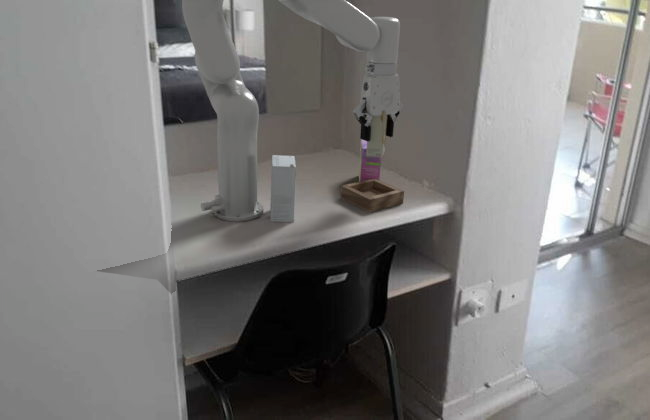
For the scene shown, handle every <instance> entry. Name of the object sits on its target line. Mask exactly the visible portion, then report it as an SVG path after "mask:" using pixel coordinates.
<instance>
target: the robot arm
mask: <svg viewBox="0 0 650 420" xmlns="http://www.w3.org/2000/svg"><path fill="white" fill-rule="evenodd" d="M277 1H279V2H280V4H283V6H285V7H287V8H288V9H289V10H291V11H292V12H294V13H295V14H296V15H298V16H299V17H302V18H303V19H304V20H307V21H309V22H312V23H313V24H317V25H319V26H321V27H322V28H324V29H326V30H328V32H331V33H332V34H333V35H334V36H335V37H336V40H337V41H338V42H339V43H340V44H341V45H342V46H344V47H346V48H349V49H352V50H354V51H357V52H360V53H361V52H362V53H364V52H367V53H366V65H365V66H364V68H363V69H364V71H365V74H364V77H363V80H362V85H361V91H360V100H359V103H358V104H357V106H356V107H355V108H354V109H353V110H352V113H353V115H354V117H355V119H356V120H357V121H358V124H359V125H360V134H359V135H360V137H359V138H360V140H361V139H362V140H365V141H370V135H371V126H369V124H370V122H371V120H372V118H373V117H378V116H381V115H382V111H383V110H386V115H387V126H386V137H389V138H393V137H394V128H395V127H394V126H395V123H396V122H397V117H398V116H399V115H400V112H401V110H402V109H403V107H404V103H402V101H401V87H400V85H401V84H400V77H399V74H398V73H397V68H398V57H399V45H400V44H399V43H400V34H401V33H400V32H401V31H400V30H401V22H400V20H399V19H398V18H396V17H393V16H374V17H369V16H368V15H367V14H365V13H364V12H362V11H361V10H360V9H359V8H358V7H356V6H354V5H353V4H352V3H350V2H348V1H347V0H277ZM223 5H224V0H182V1H181V7H182V10H181V11H182V15H183V19H184V22H185V25H186V27H187V28H186V29H187V31H188V33H189V38H190V39H191V40H190V41H191V43H192V46H193V48H194V62H195V63H194V64H195V66H196V69H197V72H198V74H199V77H200V78H201V83H202V84H203V87H204V89H205V92H206V94H207V97H208V98H209V99H208V100H209V101H210V102H209V103H210V105H211V107H212V108H213V110H214V112H215V113H216V116H217V132H216V133H217V134H216V138H217V139H216V140H217V142H216V143H217V146H216V147H217V148H216V149H217V173H218V175H217V176H218V178H217V181H218V194H216V195H214V199H212V200H211V201H209V202H208V201H206V202H203V203H200V209H201V211H202V212H205V211H209V210H210V212H211V213H212V214H213V215H214V216H215V217H217V218H218V219H221V220H224V221H228V222H246V221H252V220H254V219H257V218H259V217H261V216H262V215H263V214H264V206H263V204H262V203H260V202H259V201H258V131H259V130H258V128H259V121H260V109H259V108H260V107H259V104H258V100H257V99H256V98H255V97H256V96H255V95H254V94H253V93H252V92H251V91H250V90H249V89H248V88H247V87H246V85H245V83H244V80H243V77H242V74H241V71H240V70H241V60H240V56H239V53H238V52H237V49H236V47H235V45H234V42H233V39H232V36H231V34H230V31H229V29H228V25H227V21H226V19H225V15H224V10H223V8H224V7H223Z"/></svg>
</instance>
